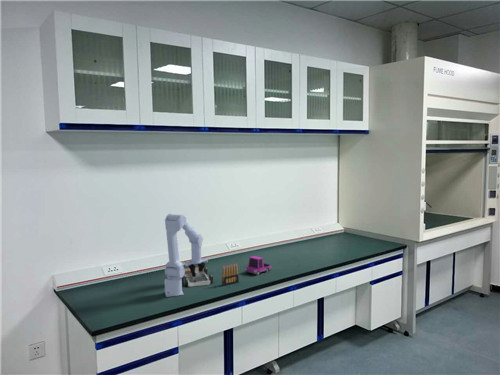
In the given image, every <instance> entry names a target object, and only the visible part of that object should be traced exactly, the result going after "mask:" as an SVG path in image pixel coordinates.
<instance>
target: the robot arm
mask: <svg viewBox="0 0 500 375" xmlns="http://www.w3.org/2000/svg"><path fill="white" fill-rule="evenodd" d="M164 224H165V231H166V241H167V242H166V243H167V251H168V262H166V263H165V265H164V267H165V268H164V274H165V276H166V277H167V278H165V279H164V294H165V297H166V298H167V297H168V298H169V297H176V296H177V297H178V296H184V295H185V294H184V292H183V284H182V283H183V281H182V280H183V279H184V274H185V267H187V268H190V270H191V273H192V276H193V277H195V267H196V266H195V265H197V267H198V268H199V271H201V272H202V271H203V268H204V266H206V264H205V263H208V262H209V259H208V258H202V245H203V240H204V238H203V236H202V235H201V233H198V232H197V231H196V229H195V228H194V226H190V225H189V223H188V222H187V217H186V216H185V214H172V213H168V214H167V215H166V216H165V219H164ZM182 229H183V230H184V234H185V235H186V237H187V238H188V240H189V243H190V245H191V246H190V247H191V248H190V250H191V260H189V261H187V262H184V263H183V262H182V261H181V260H180V257H179V256H180V255H179V247H178V246H179V244H178V236H177V234H178V232H179V231H181V230H182ZM182 278H183V279H182Z"/></svg>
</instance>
